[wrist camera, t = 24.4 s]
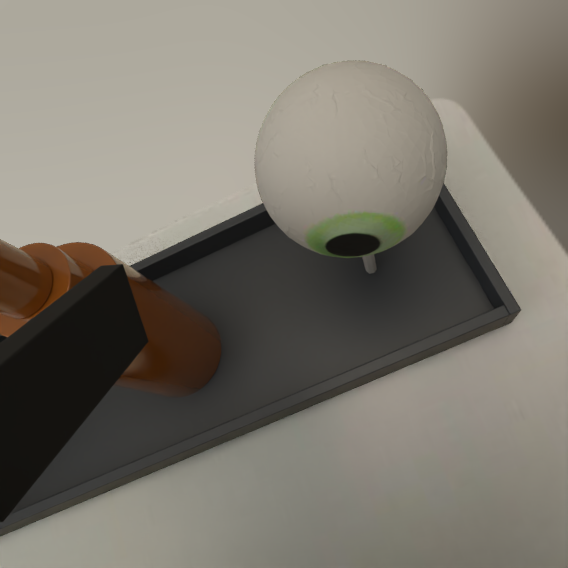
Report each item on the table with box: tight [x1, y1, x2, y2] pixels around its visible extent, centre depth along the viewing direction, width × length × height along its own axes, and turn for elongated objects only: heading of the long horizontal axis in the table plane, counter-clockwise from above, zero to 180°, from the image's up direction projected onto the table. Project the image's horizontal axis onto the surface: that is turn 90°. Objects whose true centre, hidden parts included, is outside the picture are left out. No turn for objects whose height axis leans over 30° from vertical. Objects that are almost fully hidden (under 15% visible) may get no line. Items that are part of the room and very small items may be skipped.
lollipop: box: [255, 61, 447, 274], centre depth 21 cm, size 7×7×15 cm
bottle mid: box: [0, 239, 221, 398], centre depth 22 cm, size 6×6×17 cm
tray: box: [0, 183, 521, 536], centre depth 29 cm, size 37×12×3 cm, turn 111°
